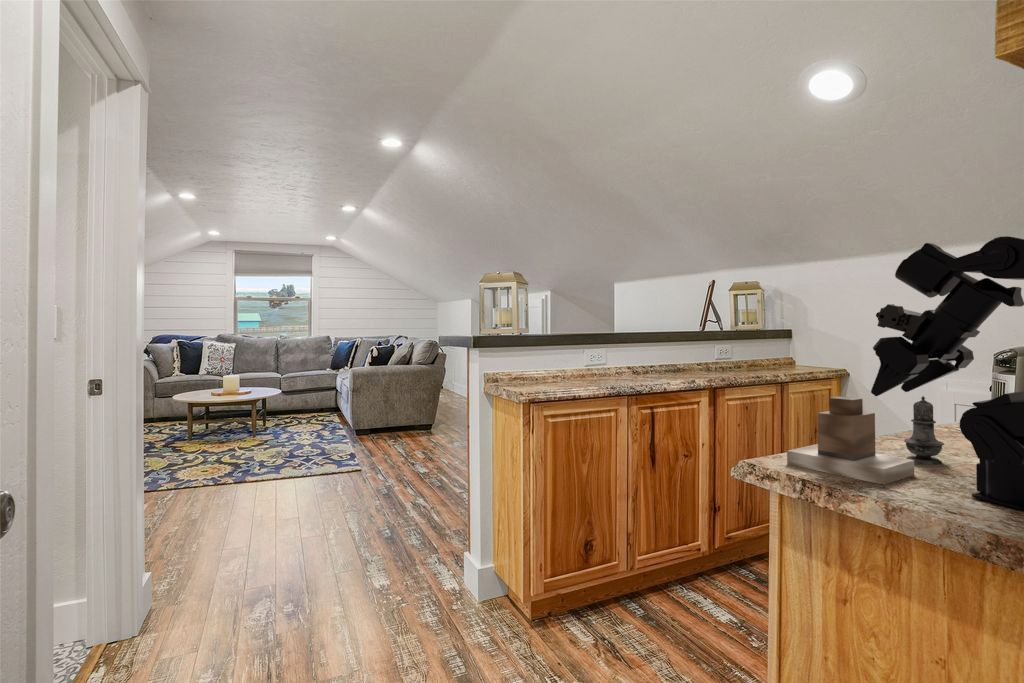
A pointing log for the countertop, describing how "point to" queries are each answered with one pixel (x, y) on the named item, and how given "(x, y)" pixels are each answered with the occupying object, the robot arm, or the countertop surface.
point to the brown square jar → (846, 430)
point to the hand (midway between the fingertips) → (889, 392)
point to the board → (853, 465)
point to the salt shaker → (923, 435)
